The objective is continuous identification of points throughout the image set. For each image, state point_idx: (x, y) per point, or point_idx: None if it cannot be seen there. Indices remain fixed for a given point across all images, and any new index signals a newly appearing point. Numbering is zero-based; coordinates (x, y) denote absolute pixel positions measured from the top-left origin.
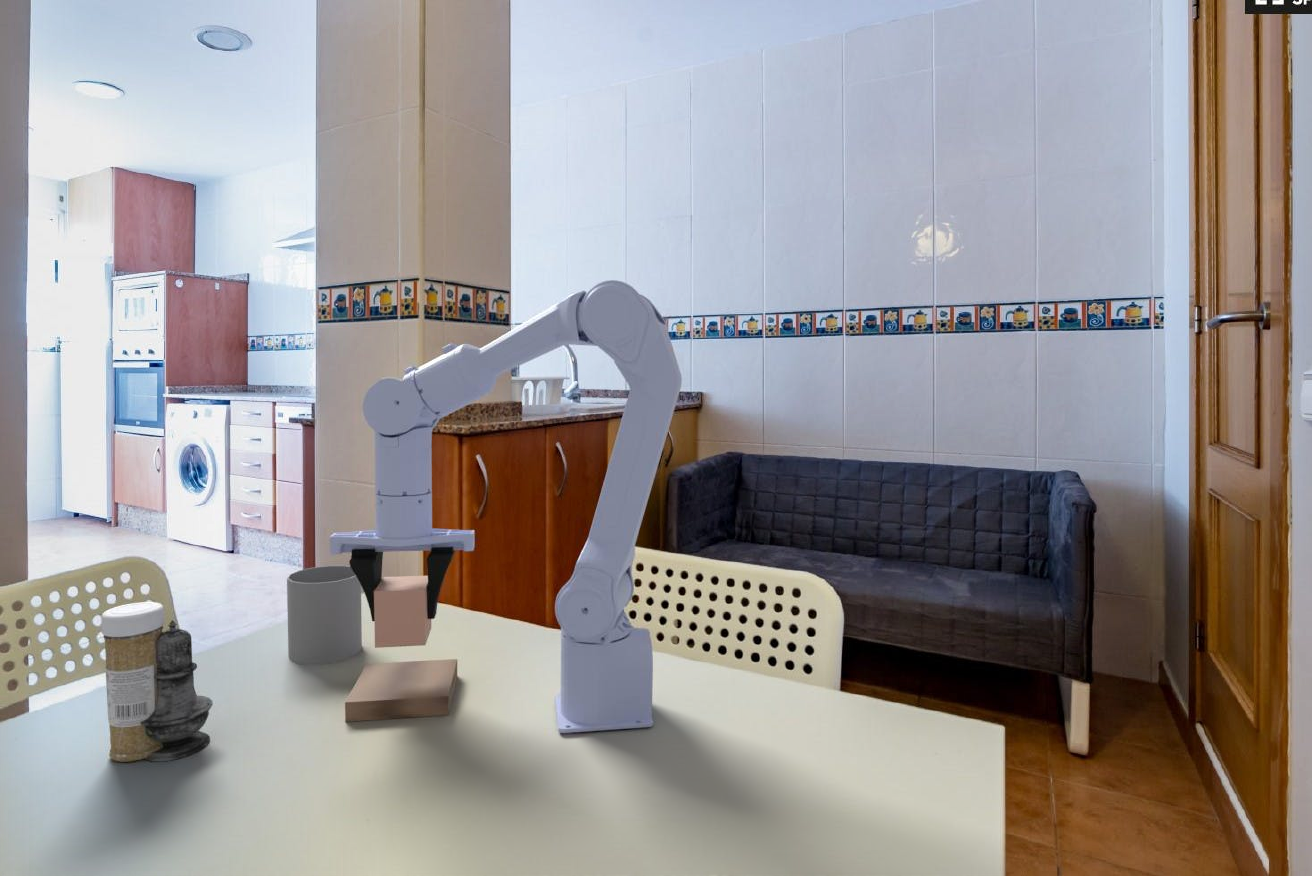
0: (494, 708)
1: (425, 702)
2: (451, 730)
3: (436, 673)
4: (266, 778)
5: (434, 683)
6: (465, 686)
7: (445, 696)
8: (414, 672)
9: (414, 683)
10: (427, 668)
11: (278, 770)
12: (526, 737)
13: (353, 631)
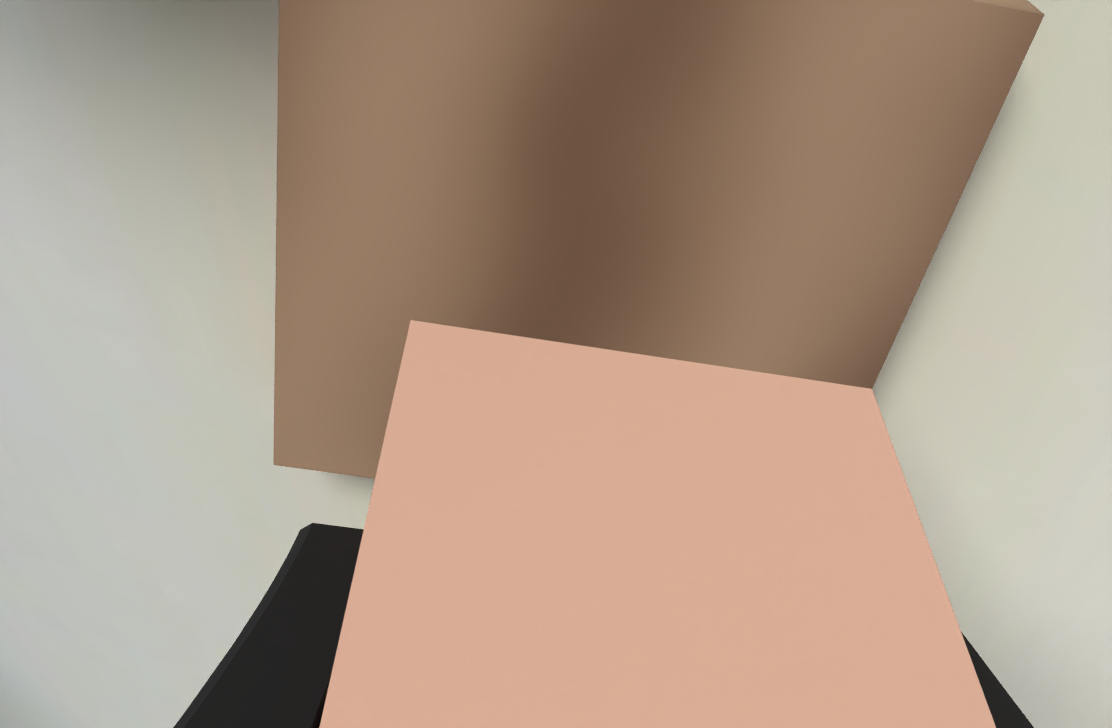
0: (1014, 461)
1: None
2: None
3: (812, 243)
4: (123, 671)
5: None
6: (979, 169)
7: None
8: (667, 186)
9: (650, 348)
10: (769, 138)
11: (144, 644)
12: (1020, 678)
13: None
